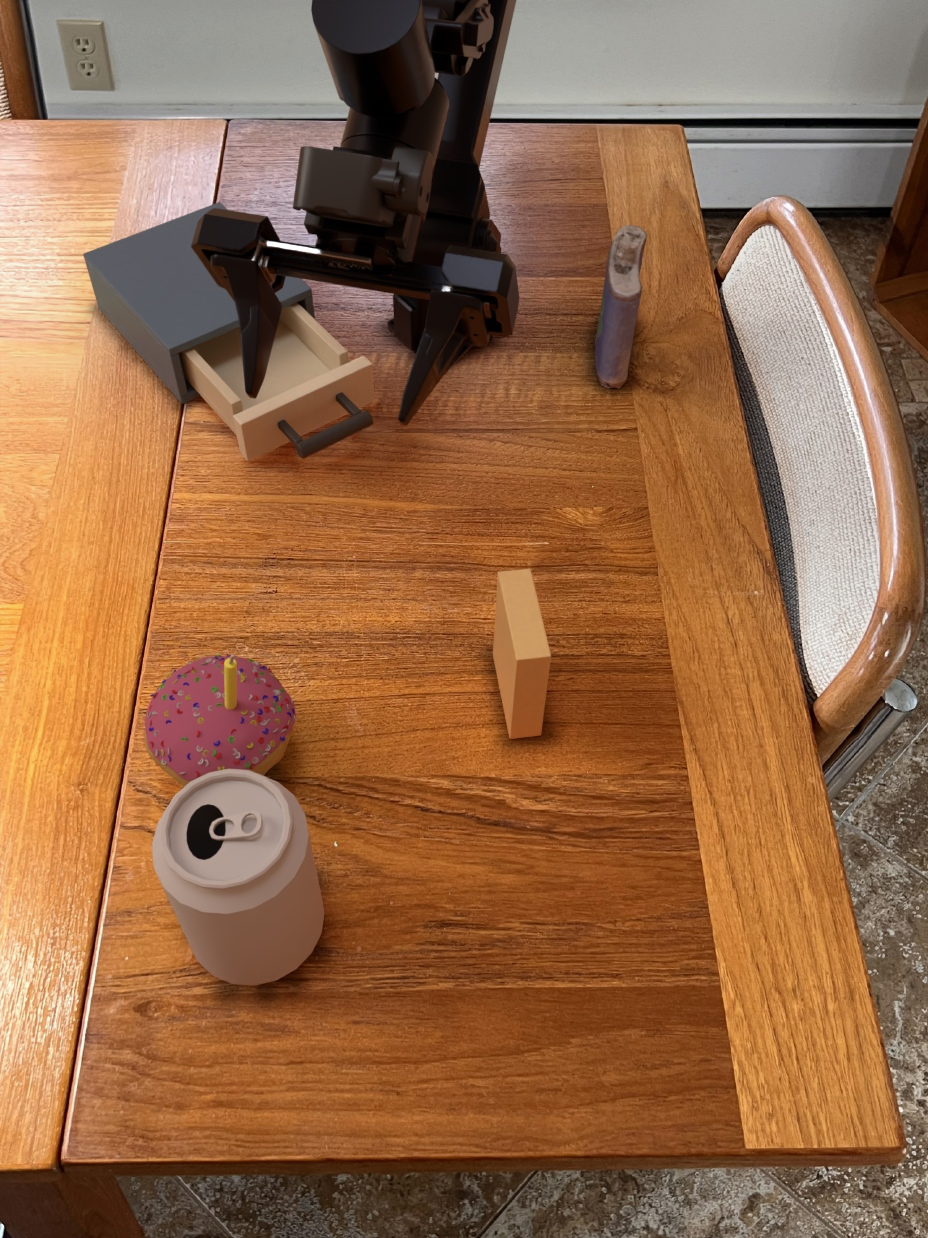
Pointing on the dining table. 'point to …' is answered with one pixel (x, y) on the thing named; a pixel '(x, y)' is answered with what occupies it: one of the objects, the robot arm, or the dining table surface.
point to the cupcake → (218, 718)
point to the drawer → (284, 387)
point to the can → (240, 875)
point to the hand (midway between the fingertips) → (325, 409)
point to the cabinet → (169, 296)
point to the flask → (619, 306)
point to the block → (520, 653)
